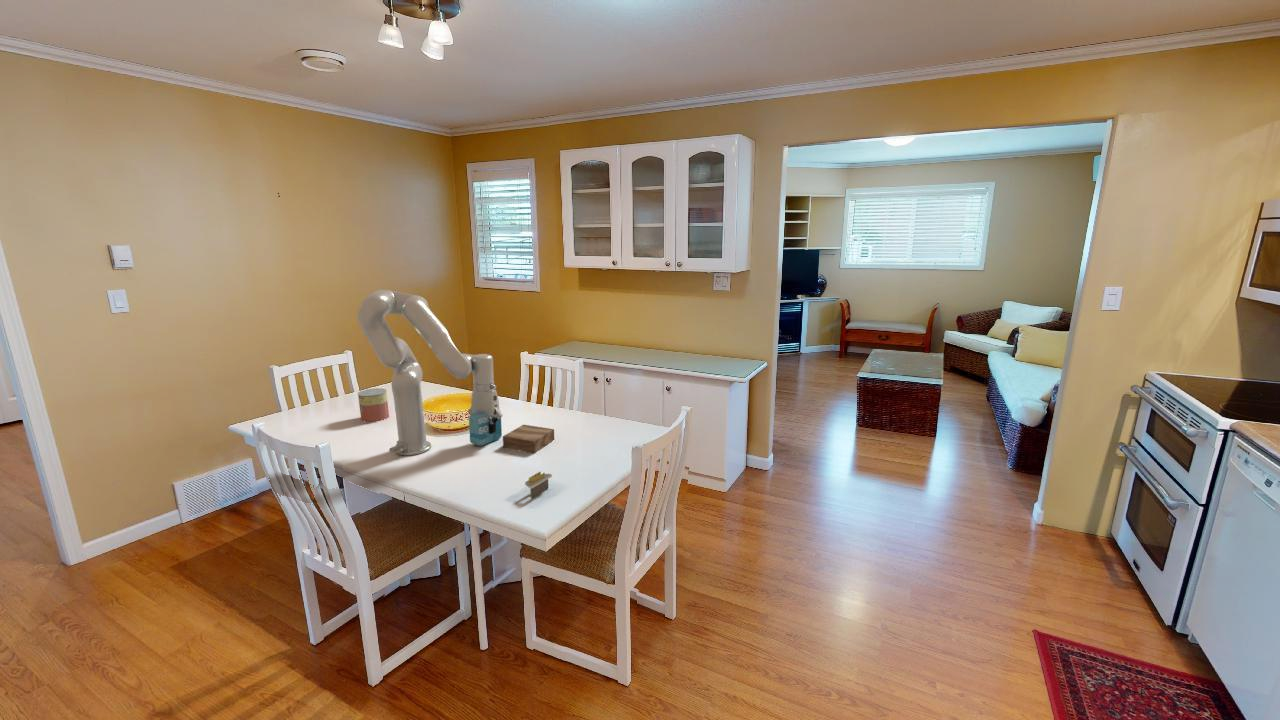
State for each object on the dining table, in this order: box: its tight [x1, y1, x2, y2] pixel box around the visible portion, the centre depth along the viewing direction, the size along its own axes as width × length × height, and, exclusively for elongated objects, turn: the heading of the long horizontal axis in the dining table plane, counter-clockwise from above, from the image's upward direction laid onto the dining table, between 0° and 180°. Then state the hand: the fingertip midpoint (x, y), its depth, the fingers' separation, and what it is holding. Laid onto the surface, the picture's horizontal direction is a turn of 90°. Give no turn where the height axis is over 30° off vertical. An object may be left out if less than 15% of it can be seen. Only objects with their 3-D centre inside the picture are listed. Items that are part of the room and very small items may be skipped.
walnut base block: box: [502, 424, 555, 454], centre depth 212 cm, size 14×14×5 cm
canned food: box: [357, 387, 390, 423], centre depth 240 cm, size 11×11×12 cm
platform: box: [524, 470, 553, 499], centre depth 173 cm, size 12×18×7 cm, turn 150°
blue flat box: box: [468, 409, 503, 447], centre depth 213 cm, size 12×4×12 cm, turn 145°
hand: (485, 431), depth 213 cm, fingers closed on blue flat box, 5 cm apart
